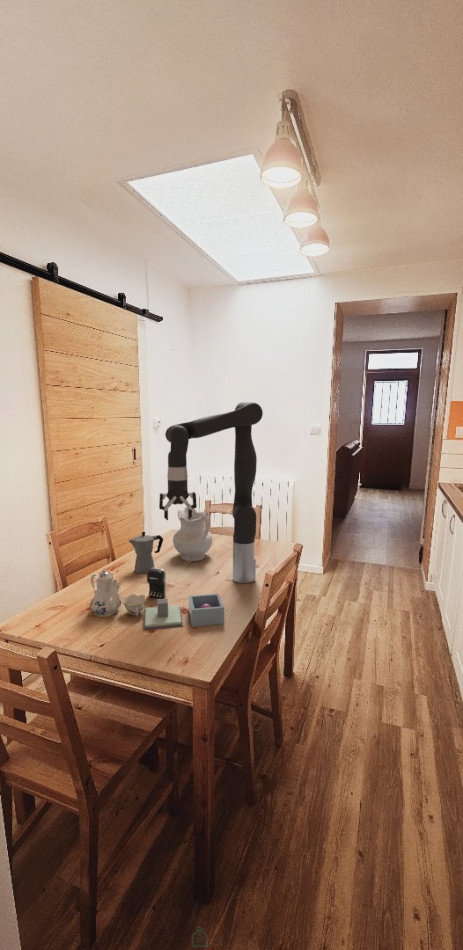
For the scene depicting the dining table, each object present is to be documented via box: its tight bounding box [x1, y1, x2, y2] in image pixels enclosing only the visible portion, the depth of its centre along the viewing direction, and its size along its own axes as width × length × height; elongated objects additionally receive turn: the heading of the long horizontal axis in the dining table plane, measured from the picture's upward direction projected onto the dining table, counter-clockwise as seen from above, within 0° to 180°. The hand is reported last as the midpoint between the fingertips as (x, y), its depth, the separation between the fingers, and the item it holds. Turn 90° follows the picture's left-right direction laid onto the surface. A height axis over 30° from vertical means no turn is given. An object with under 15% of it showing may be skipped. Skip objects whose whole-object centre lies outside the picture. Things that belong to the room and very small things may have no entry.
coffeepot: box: [128, 531, 164, 575], centre depth 187 cm, size 15×9×18 cm, turn 113°
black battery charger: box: [146, 567, 167, 600], centre depth 160 cm, size 7×4×11 cm, turn 70°
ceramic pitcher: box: [172, 506, 213, 562], centre depth 203 cm, size 22×20×25 cm
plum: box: [201, 604, 211, 608], centre depth 145 cm, size 4×4×4 cm
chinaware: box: [89, 568, 148, 618], centre depth 151 cm, size 28×17×17 cm, turn 51°
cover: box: [145, 598, 182, 627], centre depth 144 cm, size 12×12×6 cm
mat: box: [142, 606, 184, 631], centre depth 145 cm, size 13×13×1 cm
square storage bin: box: [188, 593, 225, 628], centre depth 145 cm, size 11×11×6 cm
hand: (178, 519), depth 161 cm, fingers open, 8 cm apart
